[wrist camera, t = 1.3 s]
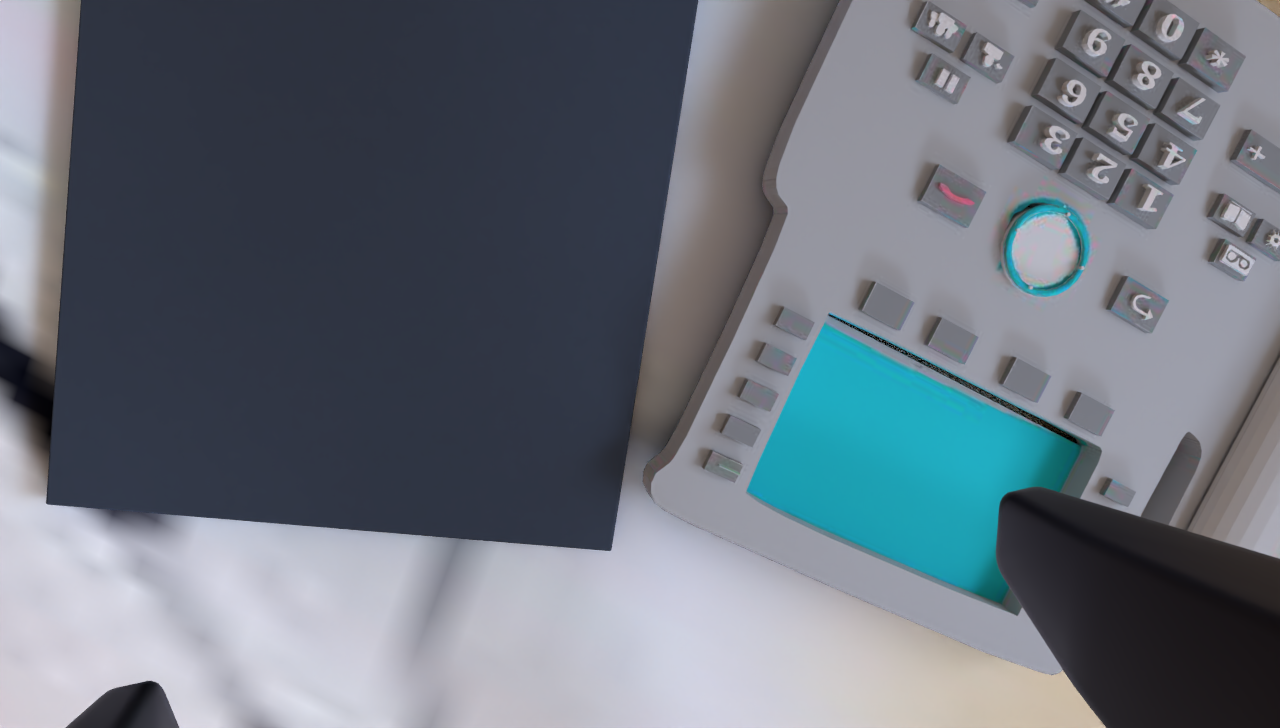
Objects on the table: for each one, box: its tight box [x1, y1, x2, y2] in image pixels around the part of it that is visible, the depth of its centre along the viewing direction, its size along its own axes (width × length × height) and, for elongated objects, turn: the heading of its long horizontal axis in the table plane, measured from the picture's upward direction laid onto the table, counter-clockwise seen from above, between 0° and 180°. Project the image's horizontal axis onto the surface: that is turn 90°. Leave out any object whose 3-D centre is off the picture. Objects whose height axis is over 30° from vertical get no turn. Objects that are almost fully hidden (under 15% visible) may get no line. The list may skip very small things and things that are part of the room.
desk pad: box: [46, 0, 698, 551], centre depth 21 cm, size 16×14×1 cm
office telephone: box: [643, 0, 1280, 675], centre depth 25 cm, size 23×3×20 cm
